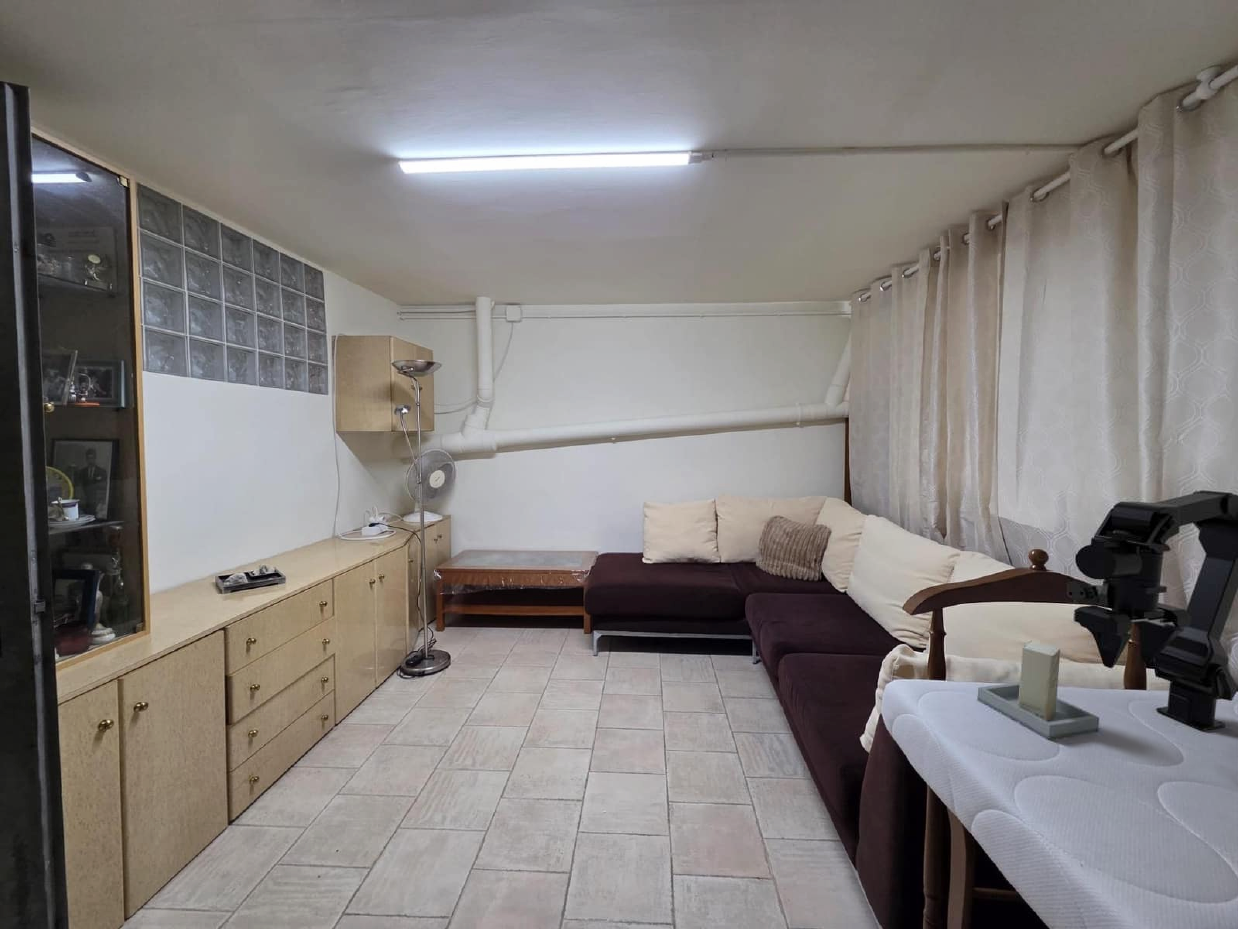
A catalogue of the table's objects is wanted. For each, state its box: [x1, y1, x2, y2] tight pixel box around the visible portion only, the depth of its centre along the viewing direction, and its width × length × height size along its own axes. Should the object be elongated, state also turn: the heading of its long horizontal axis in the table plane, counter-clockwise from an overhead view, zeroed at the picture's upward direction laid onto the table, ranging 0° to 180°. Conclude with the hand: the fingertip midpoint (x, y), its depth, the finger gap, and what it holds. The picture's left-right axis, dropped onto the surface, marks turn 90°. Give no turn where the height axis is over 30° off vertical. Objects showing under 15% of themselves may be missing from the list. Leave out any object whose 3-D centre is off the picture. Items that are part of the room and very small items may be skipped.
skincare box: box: [1018, 640, 1061, 722], centre depth 90 cm, size 6×4×12 cm
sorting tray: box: [976, 681, 1100, 740], centre depth 91 cm, size 12×13×2 cm
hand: (1127, 664), depth 86 cm, fingers open, 9 cm apart
